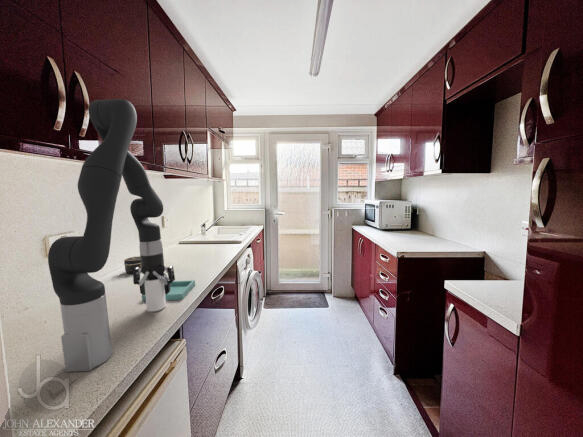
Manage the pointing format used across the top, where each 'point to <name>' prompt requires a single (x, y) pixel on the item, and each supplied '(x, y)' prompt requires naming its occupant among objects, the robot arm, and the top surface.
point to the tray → (177, 290)
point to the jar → (132, 264)
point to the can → (154, 295)
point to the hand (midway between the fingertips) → (155, 293)
